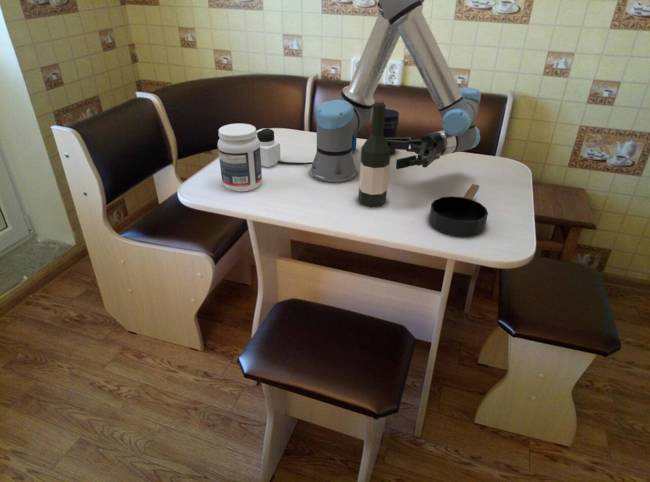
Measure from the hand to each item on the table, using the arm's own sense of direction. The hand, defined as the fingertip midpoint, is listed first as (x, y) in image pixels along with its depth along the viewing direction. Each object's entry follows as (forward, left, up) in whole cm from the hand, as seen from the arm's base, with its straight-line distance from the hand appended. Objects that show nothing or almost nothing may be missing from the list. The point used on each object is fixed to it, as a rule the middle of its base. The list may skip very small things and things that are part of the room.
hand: (382, 156), depth 131 cm
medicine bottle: (-46, +6, -14) cm, 49 cm away
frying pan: (+25, +3, -14) cm, 29 cm away
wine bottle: (-1, -2, -14) cm, 14 cm away
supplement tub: (-42, -13, -14) cm, 46 cm away
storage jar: (-15, +38, -14) cm, 43 cm away
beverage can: (-27, +32, -14) cm, 44 cm away
